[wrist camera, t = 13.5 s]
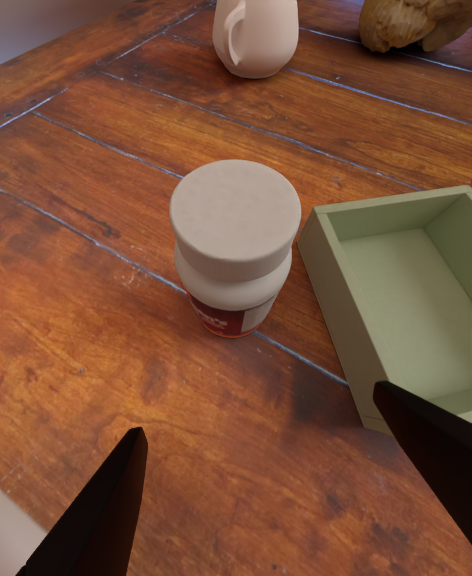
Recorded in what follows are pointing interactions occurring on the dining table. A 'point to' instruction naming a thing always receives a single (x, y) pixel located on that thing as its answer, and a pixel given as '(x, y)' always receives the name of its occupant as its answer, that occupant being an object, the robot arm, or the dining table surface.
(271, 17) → the teapot
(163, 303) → the dining table surface
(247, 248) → the pill bottle
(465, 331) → the open box
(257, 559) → the dining table surface
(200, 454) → the dining table surface
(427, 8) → the seashell
